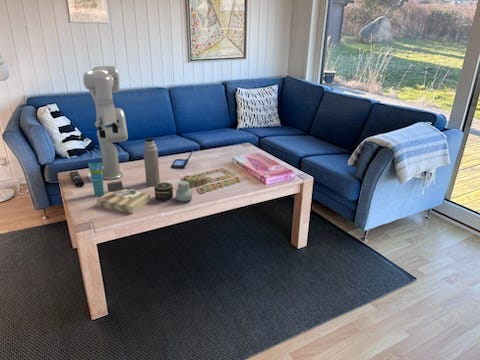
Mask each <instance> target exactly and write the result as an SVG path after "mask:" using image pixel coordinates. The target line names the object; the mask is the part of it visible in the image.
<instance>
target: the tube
mask: <svg viewBox="0 0 480 360" xmlns="http://www.w3.org/2000/svg"><path fill="white" fill-rule="evenodd" d="M87 166H88V169H89V172H90V176H91V177H90V178H91V182H92V186H93V192H94V196H96V197H102V196H103V195H105V192H104V179H103V176H102V174H103V172H102V168H103V162H87Z"/></svg>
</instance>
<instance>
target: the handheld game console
mask: <svg viewBox="0 0 480 360" xmlns="http://www.w3.org/2000/svg"><path fill="white" fill-rule="evenodd" d="M193 152H194V149H192V150H191V151H190V154H189V155H188V157H187V158H184V159H183V158H177V159H174V161H173V162H172V164H171V166H170V168H171V169H177V170H178V169H180V170H181V169H183V170H184V169H185V168H186V166H187V163H188V162H189V159H190V158H191V156H192V154H193Z"/></svg>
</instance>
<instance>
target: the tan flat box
mask: <svg viewBox="0 0 480 360" xmlns="http://www.w3.org/2000/svg"><path fill="white" fill-rule="evenodd" d="M127 190H132V189H131V188H128V189H126V188H123V190H119V191H118V192H121V191H127ZM150 202H151V194H150V193H145V192H141V191H137V190H135V189H134V191H130V192H125V193H120V194H118V195H117V196H114V194H113V192H109V191H108V192H107V193H104V194H103V195H102V196H99V198H97V199H96V203H97V207H100V208H105V209H110V210H114V211H119V212H124V213H127V214H128V213H129V214H134V213H136V212H138V211H139V210H140V209H141V208H143V207H144V206H146V205H148V203H150Z"/></svg>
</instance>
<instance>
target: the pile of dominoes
mask: <svg viewBox="0 0 480 360" xmlns="http://www.w3.org/2000/svg"><path fill="white" fill-rule="evenodd" d="M215 173H224V174H225V175H222V176H218V177H215V178H212V177H210V176H208V175H212V174H215ZM206 176H207V177H206ZM180 179H181V181H188V182H189V188H190V189H193V188H196V187H197V188H196V190H197V192H198V194H200V195H201V194H206V193H207V192H212V191H216V190H219V189H224V188H225V187H231V185H236V184H238V183H240V182H241V183H242V179H241V177H240V176H237V175H236V174H235V173H233V172H232V171H230V170H229V169H226V168H225V167H220V168H215V169H212V170H207V171H203V172H200V173H196V174H191V175H184V176H183V177H180ZM208 183H209V184H208Z"/></svg>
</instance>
